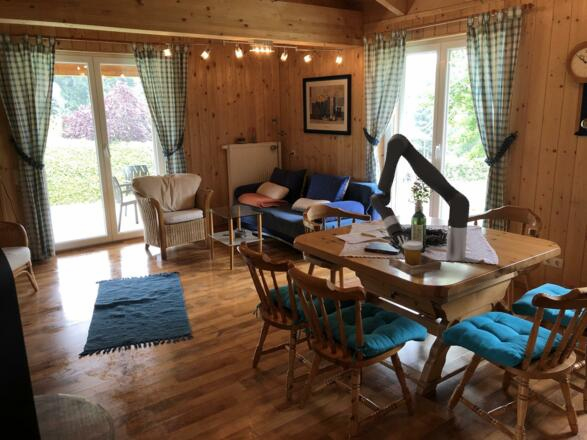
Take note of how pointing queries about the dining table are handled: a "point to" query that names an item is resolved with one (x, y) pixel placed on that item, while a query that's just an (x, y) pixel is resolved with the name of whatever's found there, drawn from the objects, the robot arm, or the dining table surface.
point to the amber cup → (412, 252)
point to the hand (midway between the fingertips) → (407, 255)
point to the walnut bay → (426, 266)
